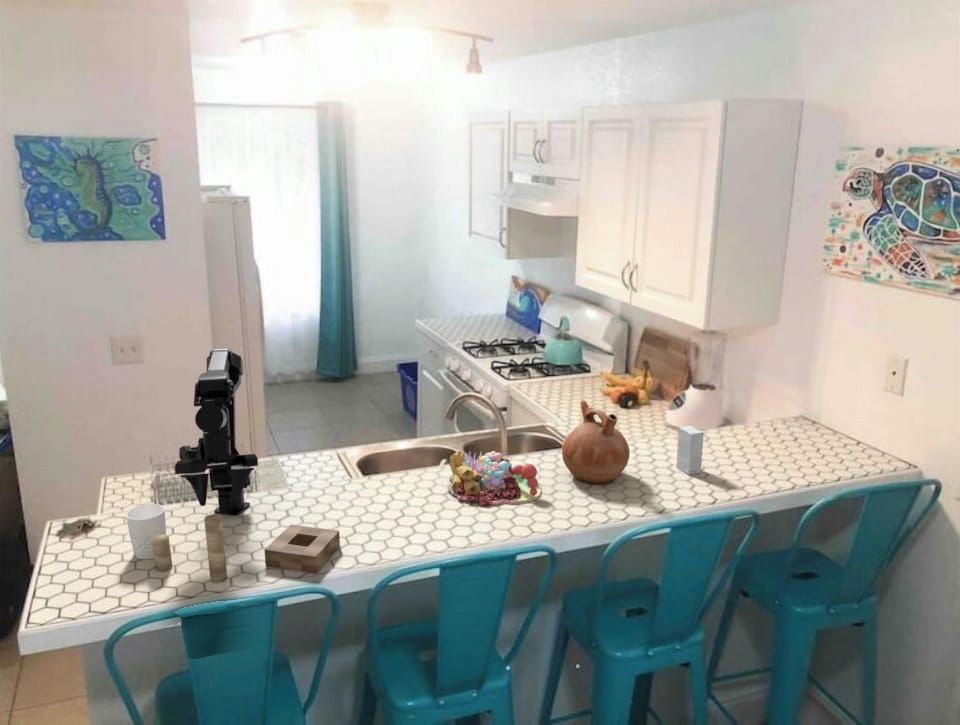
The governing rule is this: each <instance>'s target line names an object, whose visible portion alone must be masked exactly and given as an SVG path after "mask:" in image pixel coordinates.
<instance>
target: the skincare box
mask: <svg viewBox="0 0 960 725" xmlns="http://www.w3.org/2000/svg"><path fill="white" fill-rule="evenodd" d="M704 435H705V434H704V431H702V430H700V429H698V428H696V427H693V426H692V425H688V426H682V427H681V426H680V427H679V428H678V437H677V452H676V453H677V454H676V466H675V468H677V470H678V469H679V471H680V470H681V472H684V473H685V474H687V475H694V474H700V473H701V472H702V462H703V460H702V459H703V448H704Z"/></svg>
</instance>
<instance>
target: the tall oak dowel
mask: <svg viewBox="0 0 960 725" xmlns="http://www.w3.org/2000/svg"><path fill="white" fill-rule="evenodd" d="M222 518H223V516H222V515H221V514H220V513H213V514H208V515H207V516H204V530H205V539H206V548H207V558H208V569H209V578H210V582H211V583H213V584H219V583H223V582H225V581H227V579H228V569H227V558H226V549H225V540H224V539H225V538H224V529H223V528H224V526H223V519H222Z"/></svg>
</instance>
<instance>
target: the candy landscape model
mask: <svg viewBox="0 0 960 725" xmlns="http://www.w3.org/2000/svg"><path fill="white" fill-rule="evenodd" d="M479 453H480V454H479V455H478V458H477V459H476V456H477V455H476V454H477V453H476V451H474V454H473V455H471V450H470V451H469V452H468V453H467V452H466V453H465V451H464V452H463V451H461V450H457V451H456V452H455V453H452V454H450V455H449V456H450V457H449V462H450V463H449V468H450V470H451V472H452V474H451V476H449V477H448V480H450V482H451V483H452V484H449V486H448V488H447V491H449V492H450V494H451V495H454V496H456V498H457V500H459V501H467V504H468V505H469V504H471V503H473V502H478V506H492V505H493V506H494V505H496V506H499V505H501V504H510V505H515V504H516V505H519V504H524V503H526V504H527V503H532V502H534V501H536V500H537V499H539V498H540V497H541V494H542V485H541V484H540V481H538V479H537V475H538V474H537V473H538V471H537V470H538V469H537V468H536V466H535V465H534V464H532V463H527V464H525V465H522V464H516V465H515V466H514V467H513V464H512V463H511V462H510V460H509V459H508V458H507V457H504V456H503V455H502V453H501V452H496V451H495V450H493V451H491V452H487V453H485V454H484V455H483V454H482V451H480V452H479Z"/></svg>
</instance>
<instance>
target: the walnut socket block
mask: <svg viewBox="0 0 960 725" xmlns="http://www.w3.org/2000/svg"><path fill="white" fill-rule="evenodd" d="M340 538H341V537H340V530H337V529H336V530H335V529H328V528H319V527H312V526H307V525H306V526H305V525H297V524H296V525H295V524H289V526H288V527H286V528H285V529H284V530H283V532H281V533H280V534H279V535H278V536H277V537H276V538H275V539H274V540H272V542H271V543H269V545H268V546H266V547H265V548H264V560H265V561H264V562H265V567H267V568H268V567H269V568H274V569H282V570H290V571H296V572H303V573H304V572H305V573H309V574H318V573H319V571H321V569H322V568H323V567H324V566H325V565H326V564H327V562H328V561H329V560H330V559H331V558H332V557H333V555H334V554H335V553H336V552H337V551H338V550H339V548H340V547H341V540H340Z"/></svg>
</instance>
